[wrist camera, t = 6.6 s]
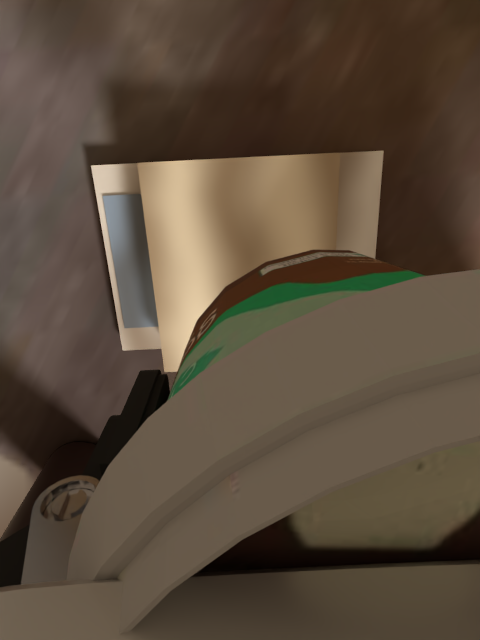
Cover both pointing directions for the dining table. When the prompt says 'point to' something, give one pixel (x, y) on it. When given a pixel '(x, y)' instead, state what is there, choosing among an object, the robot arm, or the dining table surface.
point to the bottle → (51, 479)
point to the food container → (301, 433)
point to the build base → (222, 230)
